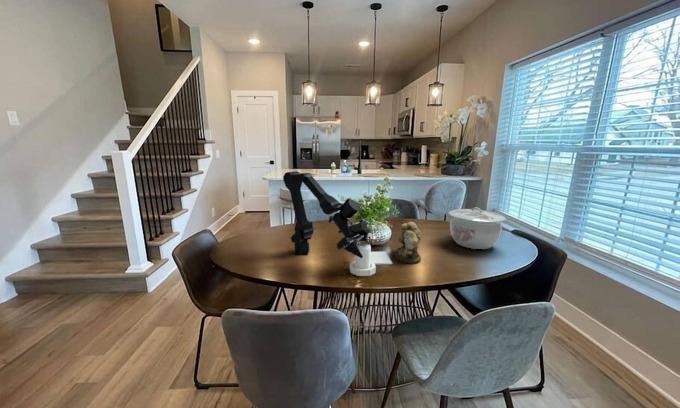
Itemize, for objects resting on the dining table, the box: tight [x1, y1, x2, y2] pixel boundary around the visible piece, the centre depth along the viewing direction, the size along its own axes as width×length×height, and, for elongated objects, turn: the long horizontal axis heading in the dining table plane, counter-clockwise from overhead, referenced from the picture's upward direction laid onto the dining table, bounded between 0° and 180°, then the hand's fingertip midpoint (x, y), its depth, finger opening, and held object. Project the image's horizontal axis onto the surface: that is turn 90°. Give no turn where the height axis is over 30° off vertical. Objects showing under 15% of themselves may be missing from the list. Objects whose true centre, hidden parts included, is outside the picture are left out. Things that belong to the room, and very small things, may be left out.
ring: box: [349, 260, 377, 277], centre depth 120 cm, size 10×10×2 cm
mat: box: [370, 251, 393, 266], centre depth 133 cm, size 14×14×1 cm
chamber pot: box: [447, 206, 507, 250], centre depth 151 cm, size 28×28×21 cm
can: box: [354, 240, 372, 269], centre depth 119 cm, size 6×6×12 cm
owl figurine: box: [393, 221, 422, 265], centre depth 134 cm, size 18×12×17 cm, turn 6°
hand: (365, 255), depth 118 cm, fingers closed on can, 6 cm apart
